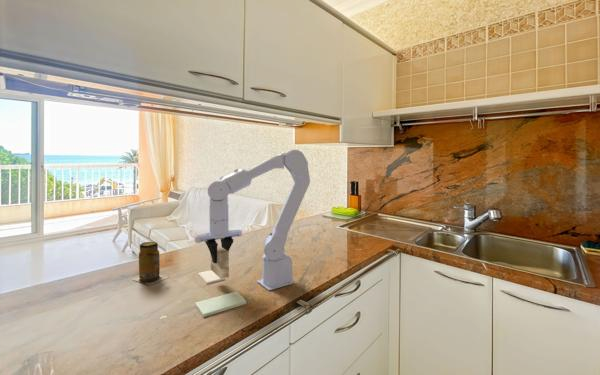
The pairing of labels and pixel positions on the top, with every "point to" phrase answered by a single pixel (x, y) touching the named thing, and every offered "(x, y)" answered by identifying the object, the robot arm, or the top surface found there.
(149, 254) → the condiment
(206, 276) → the tile
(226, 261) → the tan wooden block
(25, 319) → the top surface
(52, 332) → the top surface
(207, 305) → the rest board
